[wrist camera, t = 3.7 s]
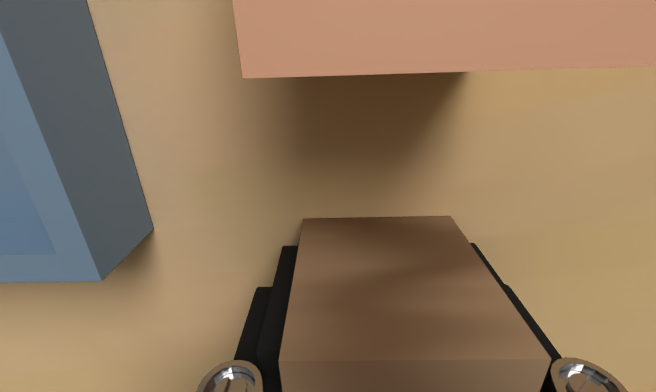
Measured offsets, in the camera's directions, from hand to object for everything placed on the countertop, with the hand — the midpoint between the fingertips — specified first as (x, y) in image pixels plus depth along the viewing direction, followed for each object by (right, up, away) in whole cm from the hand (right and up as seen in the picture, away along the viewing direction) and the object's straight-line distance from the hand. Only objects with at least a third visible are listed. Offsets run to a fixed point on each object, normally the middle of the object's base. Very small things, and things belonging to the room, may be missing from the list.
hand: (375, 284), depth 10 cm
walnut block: (0, 0, 0) cm, 0 cm away
